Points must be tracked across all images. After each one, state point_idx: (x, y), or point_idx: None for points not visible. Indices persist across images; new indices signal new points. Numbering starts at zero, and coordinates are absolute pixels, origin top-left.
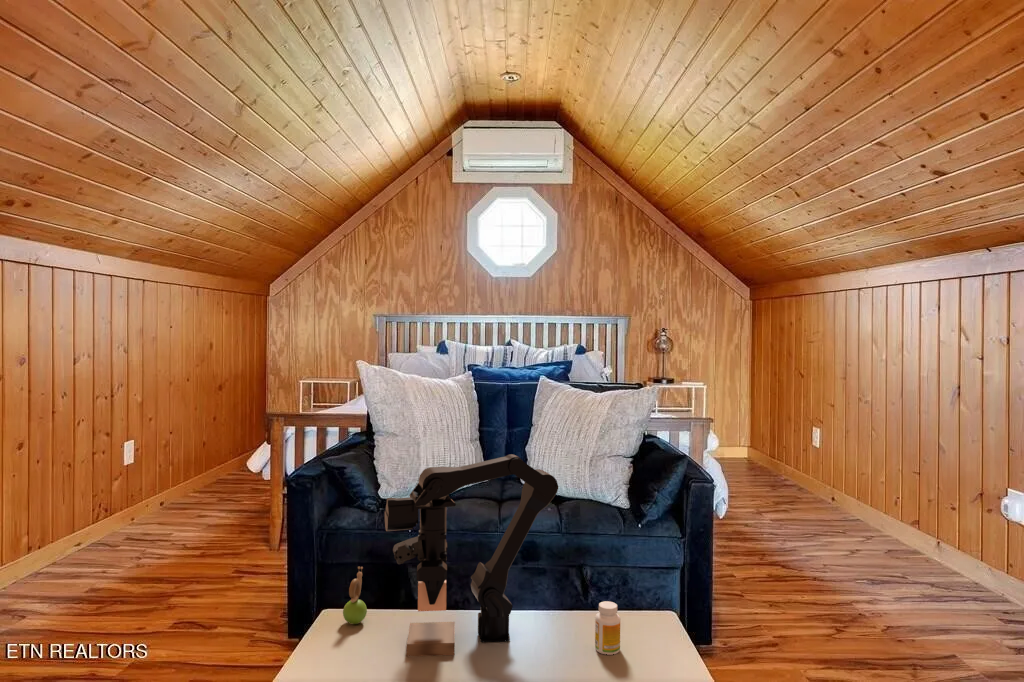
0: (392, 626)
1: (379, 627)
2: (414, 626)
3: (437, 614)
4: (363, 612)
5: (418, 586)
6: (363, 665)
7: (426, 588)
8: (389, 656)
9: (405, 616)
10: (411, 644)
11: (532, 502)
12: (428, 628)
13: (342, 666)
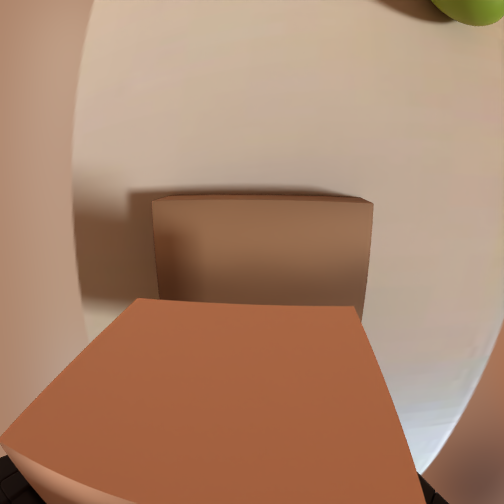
0: (431, 125)
1: (423, 74)
2: (330, 226)
3: (488, 300)
4: (453, 1)
5: (19, 420)
6: (121, 57)
7: (5, 456)
8: (172, 129)
9: (499, 182)
10: (153, 220)
11: None
12: (303, 293)
13: (126, 2)
